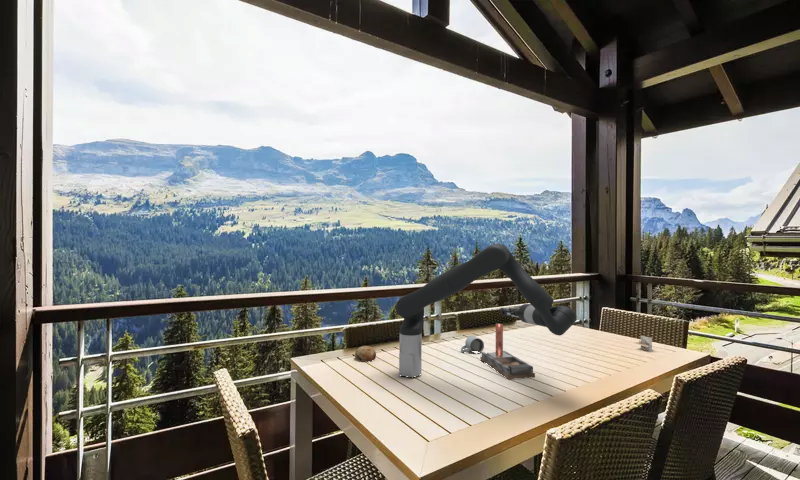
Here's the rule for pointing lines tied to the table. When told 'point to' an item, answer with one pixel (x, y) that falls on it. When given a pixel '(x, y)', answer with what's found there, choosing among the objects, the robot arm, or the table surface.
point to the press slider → (500, 347)
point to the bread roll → (365, 353)
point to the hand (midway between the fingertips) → (510, 309)
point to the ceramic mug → (473, 344)
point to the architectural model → (645, 343)
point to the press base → (509, 367)
